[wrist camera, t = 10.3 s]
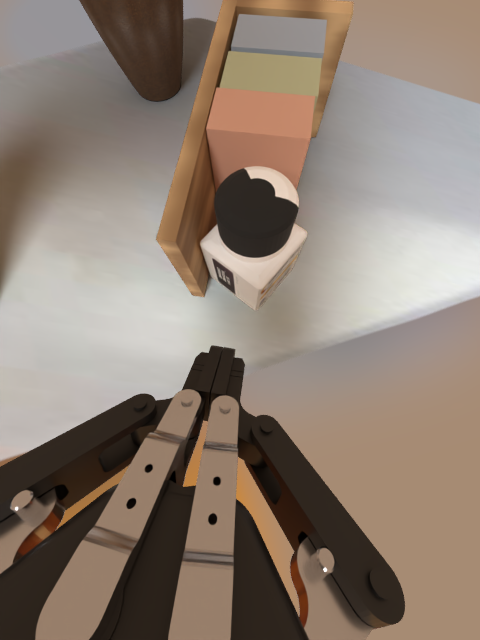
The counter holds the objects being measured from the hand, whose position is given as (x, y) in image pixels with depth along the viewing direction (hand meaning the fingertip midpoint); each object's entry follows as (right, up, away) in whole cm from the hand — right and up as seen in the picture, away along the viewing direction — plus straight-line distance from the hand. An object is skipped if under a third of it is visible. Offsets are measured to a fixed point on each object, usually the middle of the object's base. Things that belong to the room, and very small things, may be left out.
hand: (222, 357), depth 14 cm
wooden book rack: (+4, +19, +18) cm, 26 cm away
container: (+3, +8, +15) cm, 18 cm away
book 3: (+3, +18, +17) cm, 25 cm away
